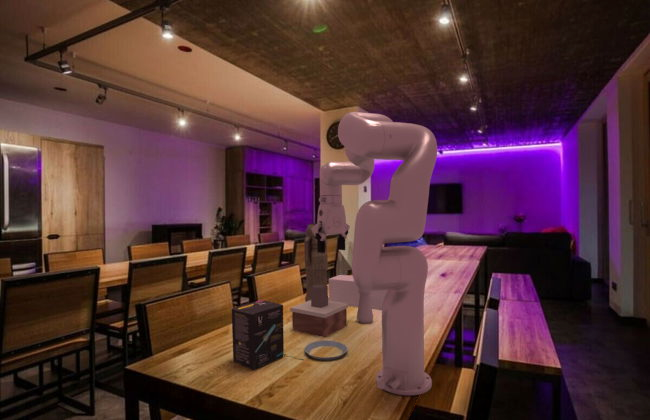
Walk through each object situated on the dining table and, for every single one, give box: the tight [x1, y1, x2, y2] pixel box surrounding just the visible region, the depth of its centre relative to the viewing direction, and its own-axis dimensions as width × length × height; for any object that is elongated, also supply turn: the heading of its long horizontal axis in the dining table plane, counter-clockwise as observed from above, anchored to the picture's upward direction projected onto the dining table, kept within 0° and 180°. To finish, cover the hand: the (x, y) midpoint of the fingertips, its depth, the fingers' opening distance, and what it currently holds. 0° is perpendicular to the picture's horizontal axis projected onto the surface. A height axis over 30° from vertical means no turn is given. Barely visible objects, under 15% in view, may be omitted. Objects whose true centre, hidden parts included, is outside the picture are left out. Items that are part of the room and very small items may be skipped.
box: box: [291, 308, 348, 338], centre depth 121 cm, size 13×13×7 cm
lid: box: [289, 285, 349, 318], centre depth 121 cm, size 14×14×8 cm
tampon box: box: [231, 299, 285, 371], centre depth 98 cm, size 11×9×15 cm
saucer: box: [304, 340, 348, 361], centre depth 100 cm, size 12×12×2 cm
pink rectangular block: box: [328, 274, 388, 311], centre depth 152 cm, size 32×11×11 cm, turn 60°
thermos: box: [303, 222, 329, 302], centre depth 139 cm, size 9×12×35 cm
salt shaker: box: [356, 289, 374, 324], centre depth 127 cm, size 6×6×13 cm
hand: (331, 251), depth 123 cm, fingers open, 9 cm apart
